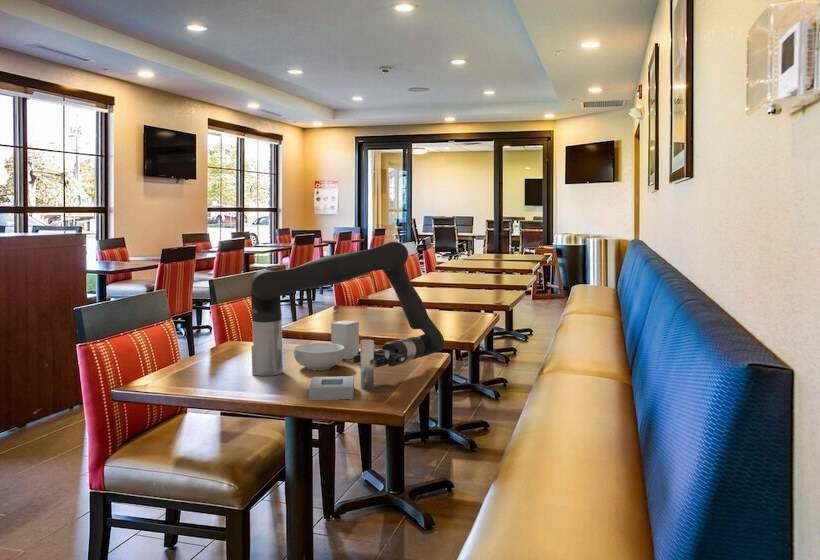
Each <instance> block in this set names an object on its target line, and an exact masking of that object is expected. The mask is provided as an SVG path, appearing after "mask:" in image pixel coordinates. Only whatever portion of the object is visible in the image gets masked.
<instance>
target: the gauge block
mask: <svg viewBox="0 0 820 560" xmlns="http://www.w3.org/2000/svg"><path fill="white" fill-rule="evenodd" d="M354 389H355V376H353V375H352V376H351V375H350V376H349V375H348V376H345V375H344V376H343V375H341V376H312V378H311V380H310V384H309V387H308V400H309V401H335V400H336V401H340V400H339V399H351V400H354V391H355V390H354Z"/></svg>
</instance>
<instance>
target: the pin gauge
mask: <svg viewBox="0 0 820 560" xmlns="http://www.w3.org/2000/svg"><path fill="white" fill-rule="evenodd" d="M374 350H375V340H373V339H361V340H359V351H360V362H359V363H360V389H361V388H362V390H373V389H375V362H374Z"/></svg>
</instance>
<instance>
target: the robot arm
mask: <svg viewBox="0 0 820 560" xmlns="http://www.w3.org/2000/svg"><path fill="white" fill-rule="evenodd" d="M408 258H409V251H408V248H407V247H406V246H405V244H403V243H400V242H397V241H389V242H386V243H384V244H381V245H378V246H375V247H372V248H368V249H365V250H358V251H351V252H350V251H349V252H344V253H339V254H338V253H337V254H332V255H329V256H323V257H319V258H317V259H314V260H310V261H308V262H305V263H303V264H301V265H298V266H295V267H292V268H286V269H279V270H272V269H271V270H270V269H260V270H258V271H256V273H254V274H253V276H252V277H251V280H250V300H251V301H250V302H251V303H250V304H251V305H250V306H251V307H250V308H251V325H252V327H251V328H252V345H251V373H252V375H253V376H260V377H267V376H268V377H269V376H276V375H281V374H282V373H283V372H284V371H283V370H284V365H283V362H284V361H283V360H284V359H283V324H282V323H283V321H282V318H283V317H282V314H283V313H282V307H281V305H282V304H281V301H282V300H281V296H285V295H287V294H291V293H294V292H298V291H302V290H310V289H315V288H321V287H327V286H330V285H331V286H333V285H336V284H339V283H343V282H347V281H349V280H353V279H354V278H358V277H360V276H363V275H365V274H369V273H370V272H371V273H372V272H376V271H383V272H384V274H385V276H386V278H387V279H388V281H389V283H390V284H391V286H392V288H393V290H394V291H395V294H396V296H397V298H398V301H399V303H400V306H401V308H402V311H403V312H404V315H405V318H406V319H407V322H408V324H409V327H410V328H411V329H412V330H421V332H423V334H421V335H418V336H413V337H408V338H401V339H400V338H399V339H397V340H392V341H388V342H385V343H384V344H383V345H382V346H381V348H378V349H374V365H375V368H380V367H383V366H387V367H397V366H399V365H403V364H406V363H408V362H410V361H413V360H416V359H419V358H423V357H426V356H430V355H433V354H435V353H439V352H441V351H442V350H443V349H444V347H445V338H444V335H443V334H442V332H441V331H440V329H439V328H438V327H437V326H436V325H435V323H434V322H433V321H432V319H431V318H430V316H429V314H428V311H427V309H426V307H425V305H424V303H423V300H422V298H421V296H420V295H419V293H418V292H417V290H416V289H415V287H414V286H413V284H412V282H411V279H410V278H409V276H408V273H407V271H406V266H405V264H406V263H407V261H408ZM352 359H353V361H352V362H353V364H358V363H361V362H360V350H359V351H358V355H355V356H354V357H353V358H352Z"/></svg>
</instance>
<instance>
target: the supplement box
mask: <svg viewBox="0 0 820 560" xmlns="http://www.w3.org/2000/svg"><path fill="white" fill-rule="evenodd" d="M359 323H360V322H359V321H354V320H344V319H343V320H337V321H334V322H331V323H330V335H331V337H330V338H331V341H330V343H333V344H339V345H342V346H344V348H345V351H344V357H343V359H342V360H351V359H353V357H354V356H355V355H358V351H360V324H359Z"/></svg>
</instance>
